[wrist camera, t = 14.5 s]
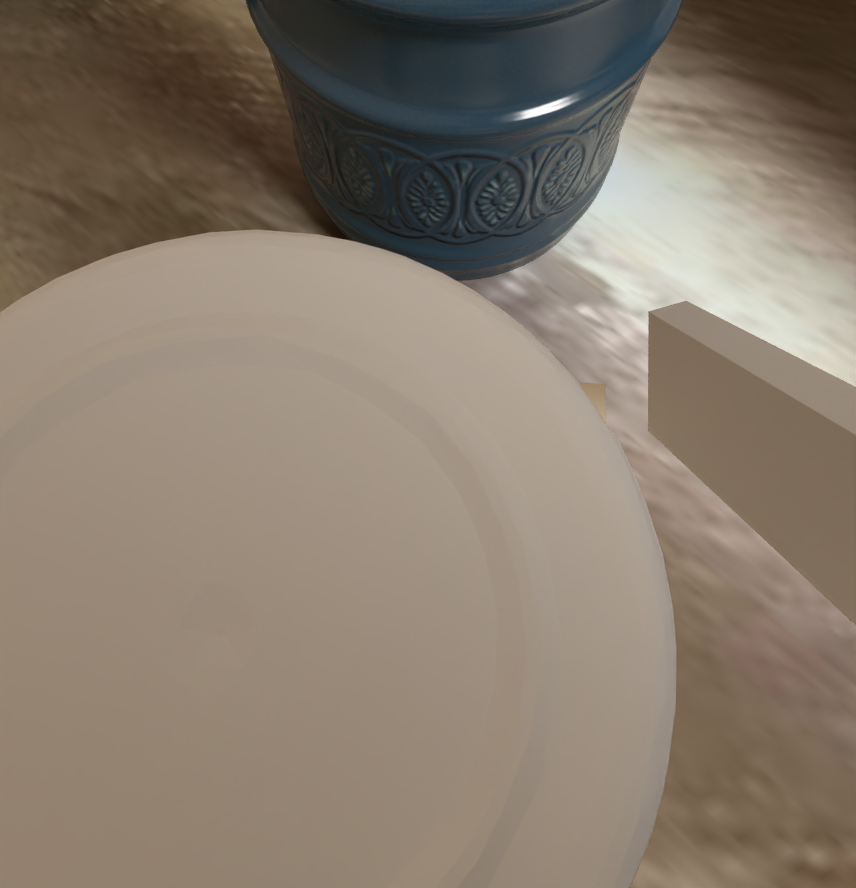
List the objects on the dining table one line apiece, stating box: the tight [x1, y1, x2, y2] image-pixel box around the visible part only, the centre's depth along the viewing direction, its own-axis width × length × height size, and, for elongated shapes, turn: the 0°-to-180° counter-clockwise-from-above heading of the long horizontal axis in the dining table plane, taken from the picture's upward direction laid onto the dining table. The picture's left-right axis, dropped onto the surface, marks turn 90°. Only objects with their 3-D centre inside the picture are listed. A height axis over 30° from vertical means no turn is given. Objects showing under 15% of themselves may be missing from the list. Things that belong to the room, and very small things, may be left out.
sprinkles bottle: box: [0, 230, 676, 888], centre depth 9 cm, size 5×5×14 cm
